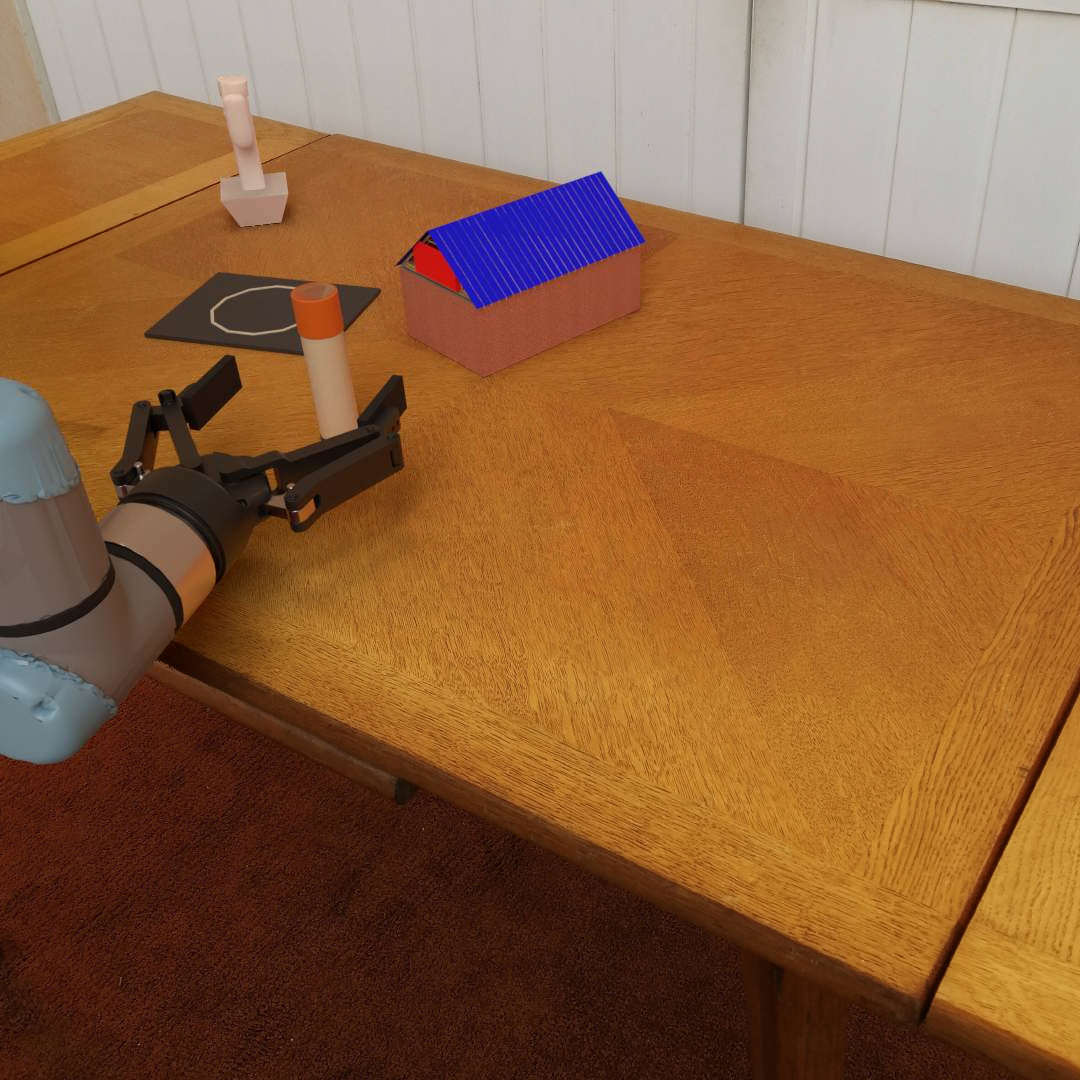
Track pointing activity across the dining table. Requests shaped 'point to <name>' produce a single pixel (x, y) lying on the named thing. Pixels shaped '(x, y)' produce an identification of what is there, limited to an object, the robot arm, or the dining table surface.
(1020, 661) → the dining table surface
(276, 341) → the slate board
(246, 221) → the figurine
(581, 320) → the house
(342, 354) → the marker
